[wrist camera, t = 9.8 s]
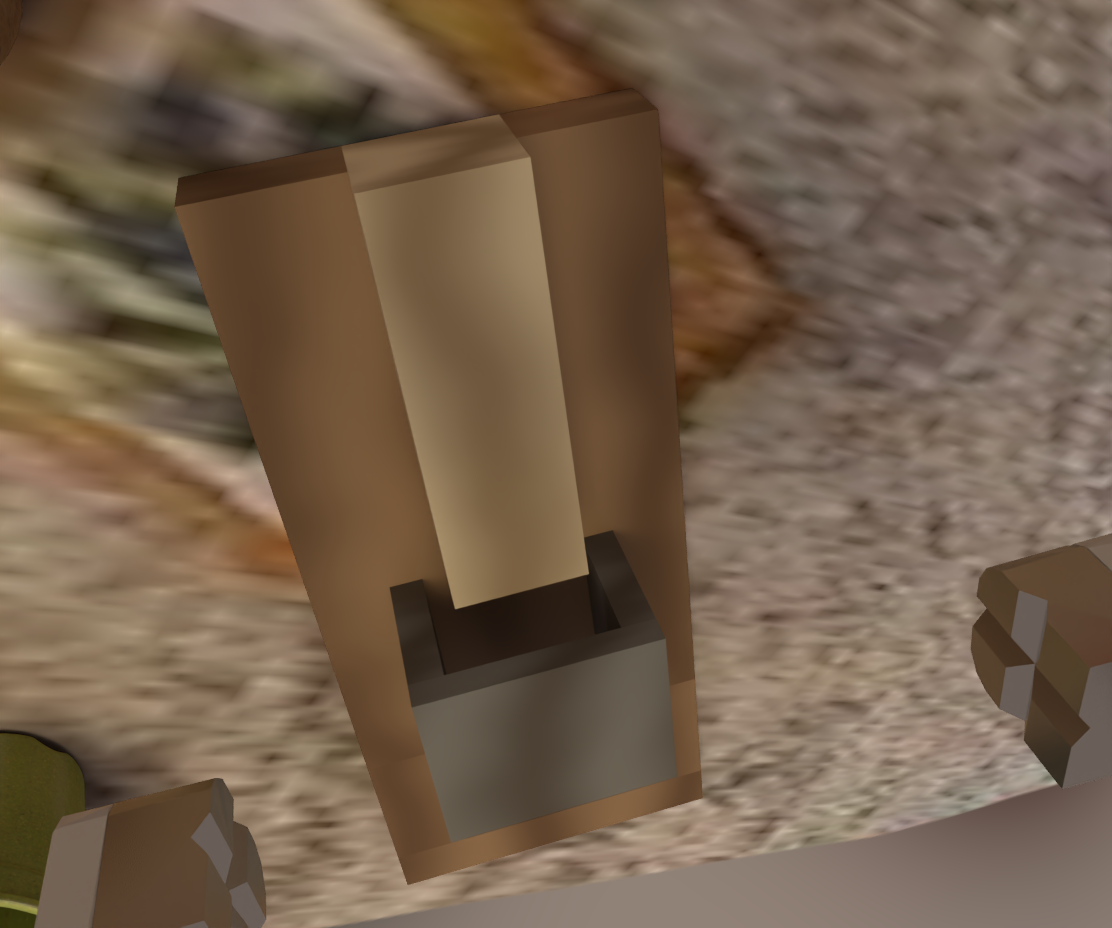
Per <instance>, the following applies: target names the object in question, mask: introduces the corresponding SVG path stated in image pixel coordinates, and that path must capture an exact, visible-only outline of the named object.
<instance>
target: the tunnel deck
mask: <svg viewBox="0 0 1112 928" xmlns="http://www.w3.org/2000/svg"><path fill="white" fill-rule="evenodd" d="M499 115H500V117H501V118H502V119H503V121H504V122H505V123H506V125H507V126H508V127H509V129H510V130H511V132H512V133H513V134H514V136H515V137H516V138H517V140H518V141H519V142H520V144H521V145H522V146H523V148H524V149H525V150H526V152H527V153H528V154H529V156H530V157H531V164H532V172H533V179H534V186H535V193H536V200H537V207H538V214H539V221H540V229H541V236H542V243H543V250H544V257H545V264H546V271H547V279H548V286H549V293H550V300H551V307H552V314H553V321H554V328H555V336H556V343H557V350H558V357H559V364H560V371H561V378H562V386H563V393H564V400H565V407H566V414H567V421H568V428H569V436H570V443H571V450H572V457H573V464H574V471H575V478H576V485H577V493H578V500H579V507H580V514H581V521H582V528H583V535H584V543H585V550H586V557H587V564H588V571H589V574H587V575H583V576H579V577H576V578H572V579H568V580H564V581H561V582H557V583H553V584H549V585H545V586H542V587H538V588H534V589H530V590H526V591H523V592H519V593H515V594H511V595H507V596H504V597H500V598H496V599H492V600H488V601H485V602H481V603H477V604H473V605H469V606H466V607H462V608H458V609H455V607H454V603H453V599H452V595H451V591H450V587H449V584H448V580H447V576H446V572H445V568H444V564H443V560H442V556H441V552H440V548H439V545H438V541H437V537H436V533H435V529H434V524H433V520H432V516H431V512H430V508H429V504H428V500H427V496H426V492H425V488H424V483H423V479H422V475H421V471H420V467H419V463H418V459H417V455H416V451H415V447H414V442H413V438H412V434H411V430H410V426H409V422H408V418H407V414H406V410H405V406H404V401H403V397H402V393H401V389H400V385H399V381H398V377H397V373H396V369H395V365H394V360H393V356H392V352H391V348H390V344H389V340H388V336H387V332H386V328H385V324H384V319H383V315H382V311H381V307H380V303H379V299H378V295H377V291H376V287H375V283H374V278H373V274H372V270H371V266H370V262H369V258H368V254H367V250H366V246H365V242H364V237H363V233H362V229H361V225H360V221H359V217H358V213H357V209H356V205H355V201H354V196H353V192H352V188H351V184H350V180H349V176H348V172H347V168H346V164H345V160H344V155H343V151H342V147H341V146H338V147H333V148H328V149H323V150H318V151H313V152H308V153H303V154H298V155H293V156H288V157H283V158H278V159H273V160H268V161H263V162H258V163H253V164H248V165H243V166H237V167H232V168H227V169H222V170H217V171H212V172H207V173H202V174H197V175H192V176H187V177H182V178H179V179H178V186H177V193H176V200H175V210H176V213H177V216H178V219H179V222H180V225H181V228H182V230H183V233H184V236H185V239H186V242H187V245H188V248H189V251H190V254H191V257H192V259H193V262H194V265H195V268H196V271H197V274H198V277H199V280H200V283H201V286H202V289H203V291H204V294H205V297H206V300H207V303H208V306H209V309H210V312H211V315H212V318H213V320H214V323H215V326H216V329H217V332H218V335H219V338H220V341H221V344H222V347H223V350H224V352H225V355H226V358H227V361H228V364H229V367H230V370H231V373H232V376H233V379H234V381H235V384H236V387H237V390H238V393H239V396H240V399H241V402H242V405H243V408H244V411H245V413H246V416H247V419H248V422H249V425H250V428H251V431H252V434H253V437H254V440H255V442H256V445H257V448H258V451H259V454H260V457H261V460H262V463H263V466H264V469H265V472H266V474H267V477H268V480H269V483H270V486H271V489H272V492H273V495H274V498H275V501H276V503H277V506H278V509H279V512H280V515H281V518H282V521H283V524H284V527H285V530H286V533H287V535H288V538H289V541H290V544H291V547H292V550H293V553H294V556H295V559H296V562H297V564H298V567H299V570H300V573H301V576H302V579H303V582H304V585H305V588H306V591H307V594H308V596H309V599H310V602H311V605H312V608H313V611H314V614H315V617H316V620H317V623H318V625H319V628H320V631H321V634H322V637H323V640H324V643H325V646H326V649H327V652H328V655H329V657H330V660H331V663H332V666H333V669H334V672H335V675H336V678H337V681H338V684H339V686H340V689H341V692H342V695H343V698H344V701H345V704H346V707H347V710H348V713H349V716H350V718H351V721H352V724H353V727H354V730H355V733H356V736H357V739H358V742H359V745H360V747H361V750H362V753H363V756H364V759H365V762H366V765H367V768H368V771H369V774H370V777H371V779H372V782H373V785H374V788H375V791H376V794H377V797H378V800H379V803H380V806H381V808H382V811H383V814H384V817H385V820H386V823H387V826H388V829H389V832H390V835H391V838H392V840H393V843H394V846H395V849H396V852H397V855H398V858H399V861H400V864H401V867H402V869H403V872H404V875H405V878H406V881H407V884H408V885H409V884H413V883H416V882H420V881H423V880H426V879H430V878H433V877H436V876H440V875H443V874H447V873H450V872H453V871H457V870H460V869H464V868H467V867H470V866H474V865H477V864H481V863H484V862H487V861H491V860H494V859H498V858H501V857H504V856H508V855H511V854H514V853H518V852H521V851H525V850H528V849H531V848H535V847H538V846H542V845H545V844H548V843H552V842H555V841H559V840H562V839H565V838H569V837H572V836H575V835H579V834H582V833H586V832H589V831H592V830H596V829H599V828H603V827H606V826H609V825H613V824H616V823H620V822H623V821H626V820H630V819H633V818H637V817H640V816H643V815H647V814H650V813H653V812H657V811H660V810H664V809H667V808H670V807H674V806H677V805H681V804H684V803H687V802H691V801H694V800H698V799H701V798H703V796H702V781H701V765H700V750H699V734H698V719H697V703H696V687H695V672H694V656H693V641H692V625H691V610H690V594H689V579H688V563H687V548H686V532H685V517H684V501H683V486H682V470H681V455H680V439H679V424H678V408H677V392H676V377H675V361H674V346H673V330H672V315H671V299H670V284H669V268H668V253H667V237H666V222H665V206H664V191H663V175H662V160H661V144H660V128H659V113H658V109H657V108H656V107H655V106H654V105H652V104H651V103H650V102H649V101H648V100H646V99H645V98H644V97H643V96H642V95H640V94H639V93H638V92H637V91H635V90H634V89H633V88H630V89H625V90H620V91H615V92H610V93H605V94H600V95H595V96H590V97H585V98H580V99H575V100H570V101H565V102H560V103H555V104H550V105H545V106H540V107H535V108H529V109H524V110H519V111H514V112H509V113H504V114H499ZM383 138H384V137H383ZM378 139H379V138H378ZM373 140H374V139H373ZM368 141H369V140H368ZM363 142H364V141H363ZM358 143H360V142H358ZM353 144H355V143H353ZM348 145H350V144H348ZM343 146H345V145H343Z"/></svg>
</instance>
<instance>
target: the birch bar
mask: <svg viewBox="0 0 1112 928" xmlns="http://www.w3.org/2000/svg"><path fill="white" fill-rule="evenodd" d="M341 147H342V151H343V155H344V160H345V164H346V168H347V172H348V176H349V180H350V184H351V188H352V192H353V196H354V201H355V205H356V209H357V213H358V217H359V221H360V225H361V229H362V233H363V237H364V242H365V246H366V250H367V254H368V258H369V262H370V266H371V270H372V274H373V278H374V283H375V287H376V291H377V295H378V299H379V303H380V307H381V311H382V315H383V319H384V324H385V328H386V332H387V336H388V340H389V344H390V348H391V352H392V356H393V360H394V365H395V369H396V373H397V377H398V381H399V385H400V389H401V393H402V397H403V401H404V406H405V410H406V414H407V418H408V422H409V426H410V430H411V434H412V438H413V442H414V447H415V451H416V455H417V459H418V463H419V467H420V471H421V475H422V479H423V483H424V488H425V492H426V496H427V500H428V504H429V508H430V512H431V516H432V520H433V524H434V529H435V533H436V537H437V541H438V545H439V548H440V552H441V556H442V560H443V564H444V568H445V572H446V576H447V580H448V584H449V587H450V591H451V595H452V599H453V603H454V607H455V609H458V608H462V607H466V606H469V605H473V604H477V603H481V602H485V601H488V600H492V599H496V598H500V597H504V596H507V595H511V594H515V593H519V592H523V591H526V590H530V589H534V588H538V587H542V586H545V585H549V584H553V583H557V582H561V581H564V580H568V579H572V578H576V577H579V576H583V575H587V574H589V571H588V564H587V557H586V550H585V543H584V535H583V528H582V521H581V514H580V507H579V500H578V493H577V485H576V478H575V471H574V464H573V457H572V450H571V443H570V436H569V428H568V421H567V414H566V407H565V400H564V393H563V386H562V378H561V371H560V364H559V357H558V350H557V343H556V336H555V328H554V321H553V314H552V307H551V300H550V293H549V286H548V279H547V271H546V264H545V257H544V250H543V243H542V236H541V229H540V221H539V214H538V207H537V200H536V193H535V186H534V179H533V172H532V164H531V157H530V156H529V154H528V153H527V152H526V150H525V149H524V148H523V146H522V145H521V144H520V142H519V141H518V140H517V138H516V137H515V136H514V134H513V133H512V132H511V130H510V129H509V127H508V126H507V125H506V123H505V122H504V121H503V119H502V118H501V117H500V115H499V114H498V115H493V116H488V117H483V118H478V119H473V120H468V121H464V122H459V123H454V124H449V125H444V126H439V127H434V128H429V129H424V130H419V131H414V132H409V133H404V134H399V135H394V136H389V137H384V138H379V139H374V140H369V141H364V142H360V143H355V144H350V145H345V146H341Z"/></svg>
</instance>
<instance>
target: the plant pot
mask: <svg viewBox="0 0 1112 928" xmlns="http://www.w3.org/2000/svg"><path fill="white" fill-rule="evenodd" d="M83 811H85V783H84V778H83V774H82V772H81V770H80V768H79V766H78V765H77V763H76V762H75V761H74V759H73V758H72V757H71V756H69V755H68V754H67V753H62V752H57V751H55V750H53V749H50V748H48V747H47V746H45V745H43V744H42V743H40V742H39V741H38V740H36V739H35V738H33V737H30V736H25V735H19V734H8V733H0V928H34V926H35V921H36V916H37V911H38V905H39V900H40V895H41V890H42V885H43V880H44V875H45V869H46V864H47V859H48V854H49V849H50V844H51V839H52V833H53V832H54V830H55V828H56V827H57V825H58V823H59V821H60V820H61V818H62V817H63V816H67V815H71V814H75V813H79V812H83Z"/></svg>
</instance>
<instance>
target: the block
mask: <svg viewBox="0 0 1112 928" xmlns="http://www.w3.org/2000/svg"><path fill="white" fill-rule="evenodd" d="M21 18H22V2H21V0H0V65H1V63H2V62H3V61H4V60H5V58H6V57H7V56H8V54H9V52H10V50H11V48H12V46H13V44H14V42H15V39H16V37H17V34H18V31H19V26H20V22H21Z"/></svg>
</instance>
